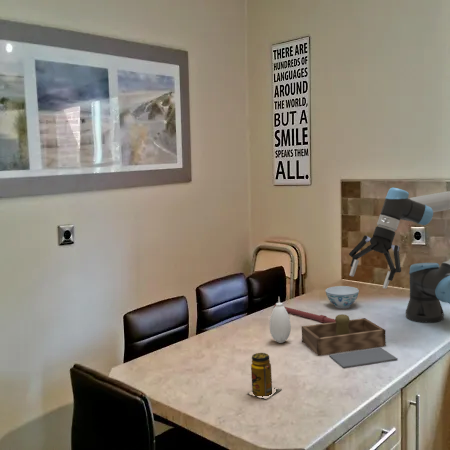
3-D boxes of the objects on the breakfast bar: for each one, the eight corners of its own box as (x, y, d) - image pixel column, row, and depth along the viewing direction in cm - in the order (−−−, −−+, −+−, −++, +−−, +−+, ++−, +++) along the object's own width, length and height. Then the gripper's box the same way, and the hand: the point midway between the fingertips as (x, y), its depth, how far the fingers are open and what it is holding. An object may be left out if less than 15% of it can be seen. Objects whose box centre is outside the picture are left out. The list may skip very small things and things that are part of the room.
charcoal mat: (380, 349, 194) (380, 347, 194) (397, 360, 183) (397, 358, 183) (329, 356, 189) (329, 355, 189) (343, 368, 178) (343, 366, 178)
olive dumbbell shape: (351, 346, 197) (350, 317, 196) (334, 346, 199) (333, 317, 197) (351, 341, 203) (350, 312, 202) (334, 340, 205) (333, 312, 203)
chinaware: (362, 310, 241) (362, 293, 240) (329, 311, 241) (328, 295, 240) (355, 301, 256) (354, 285, 255) (323, 302, 256) (322, 286, 255)
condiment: (246, 394, 163) (244, 356, 162) (262, 384, 170) (261, 348, 168) (265, 400, 158) (264, 361, 157) (282, 390, 165) (280, 352, 163)
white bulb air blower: (295, 341, 206) (293, 295, 204) (282, 347, 200) (280, 300, 198) (278, 337, 211) (277, 292, 209) (266, 343, 206) (264, 297, 203)
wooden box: (365, 332, 211) (364, 318, 211) (385, 345, 197) (385, 330, 196) (302, 341, 205) (301, 326, 205) (318, 355, 191) (317, 339, 190)
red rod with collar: (358, 330, 216) (358, 322, 215) (353, 332, 214) (353, 324, 213) (277, 309, 250) (277, 302, 250) (272, 310, 248) (272, 304, 248)
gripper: (352, 217, 206) (334, 270, 207) (415, 236, 192) (396, 292, 192) (359, 221, 212) (341, 272, 213) (421, 239, 198) (402, 294, 198)
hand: (367, 282), depth 203 cm, fingers open, 13 cm apart
